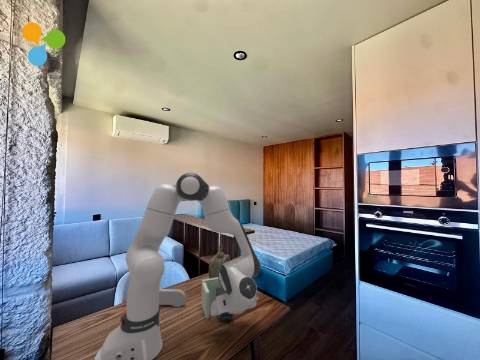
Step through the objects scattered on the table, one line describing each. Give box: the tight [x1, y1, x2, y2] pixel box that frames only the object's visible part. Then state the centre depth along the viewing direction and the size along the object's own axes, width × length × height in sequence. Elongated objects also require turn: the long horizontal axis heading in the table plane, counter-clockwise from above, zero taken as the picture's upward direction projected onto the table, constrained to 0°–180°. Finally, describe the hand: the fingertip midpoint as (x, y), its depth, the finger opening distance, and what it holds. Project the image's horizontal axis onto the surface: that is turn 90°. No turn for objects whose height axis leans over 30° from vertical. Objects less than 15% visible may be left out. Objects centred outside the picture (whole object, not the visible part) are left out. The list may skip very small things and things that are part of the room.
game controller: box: [159, 288, 187, 308], centre depth 104 cm, size 20×2×8 cm, turn 89°
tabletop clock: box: [208, 243, 231, 279], centre depth 126 cm, size 14×9×25 cm, turn 164°
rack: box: [201, 277, 221, 319], centre depth 104 cm, size 20×12×13 cm, turn 111°
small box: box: [216, 287, 233, 323], centre depth 98 cm, size 11×6×10 cm, turn 18°
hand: (230, 310), depth 93 cm, fingers closed
